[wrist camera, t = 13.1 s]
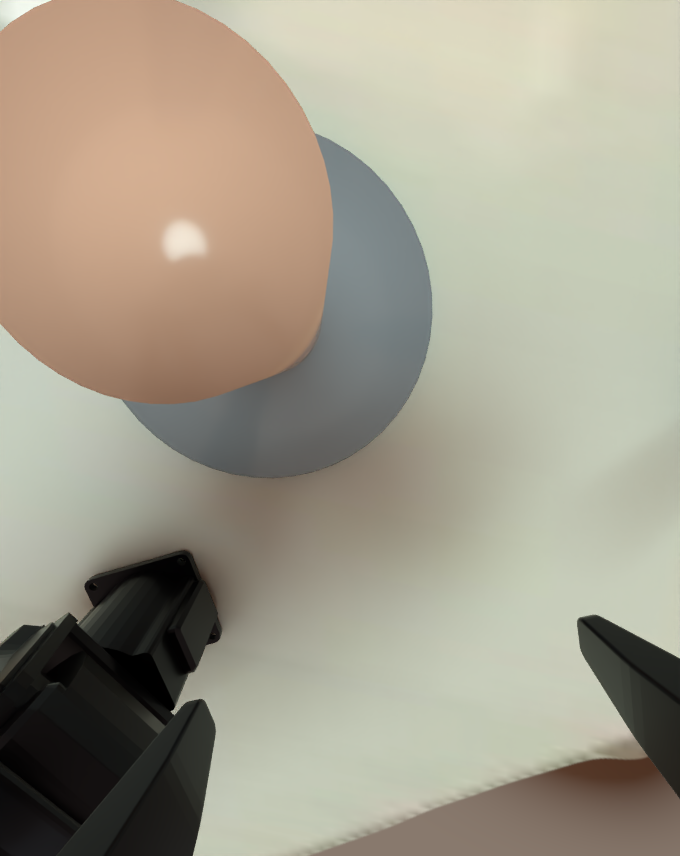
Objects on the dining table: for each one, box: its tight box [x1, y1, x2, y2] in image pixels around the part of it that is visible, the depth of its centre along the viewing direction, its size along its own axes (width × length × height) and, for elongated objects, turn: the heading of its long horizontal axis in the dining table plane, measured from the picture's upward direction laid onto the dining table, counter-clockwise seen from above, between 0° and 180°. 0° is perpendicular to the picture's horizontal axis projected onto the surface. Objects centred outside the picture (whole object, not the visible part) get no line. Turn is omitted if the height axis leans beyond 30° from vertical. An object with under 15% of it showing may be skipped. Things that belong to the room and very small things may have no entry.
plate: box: [122, 133, 432, 478], centre depth 19 cm, size 18×18×1 cm
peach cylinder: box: [0, 0, 333, 404], centre depth 12 cm, size 6×6×13 cm
